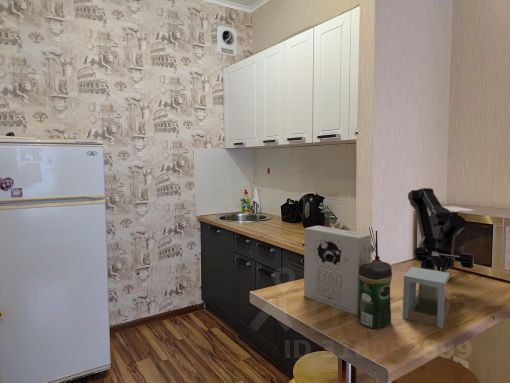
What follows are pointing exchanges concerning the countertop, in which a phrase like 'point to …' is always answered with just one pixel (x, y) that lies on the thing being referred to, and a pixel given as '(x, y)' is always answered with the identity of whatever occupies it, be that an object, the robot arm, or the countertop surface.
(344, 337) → the countertop surface
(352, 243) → the cereal box
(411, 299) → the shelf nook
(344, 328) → the countertop surface
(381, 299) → the coffee jar
